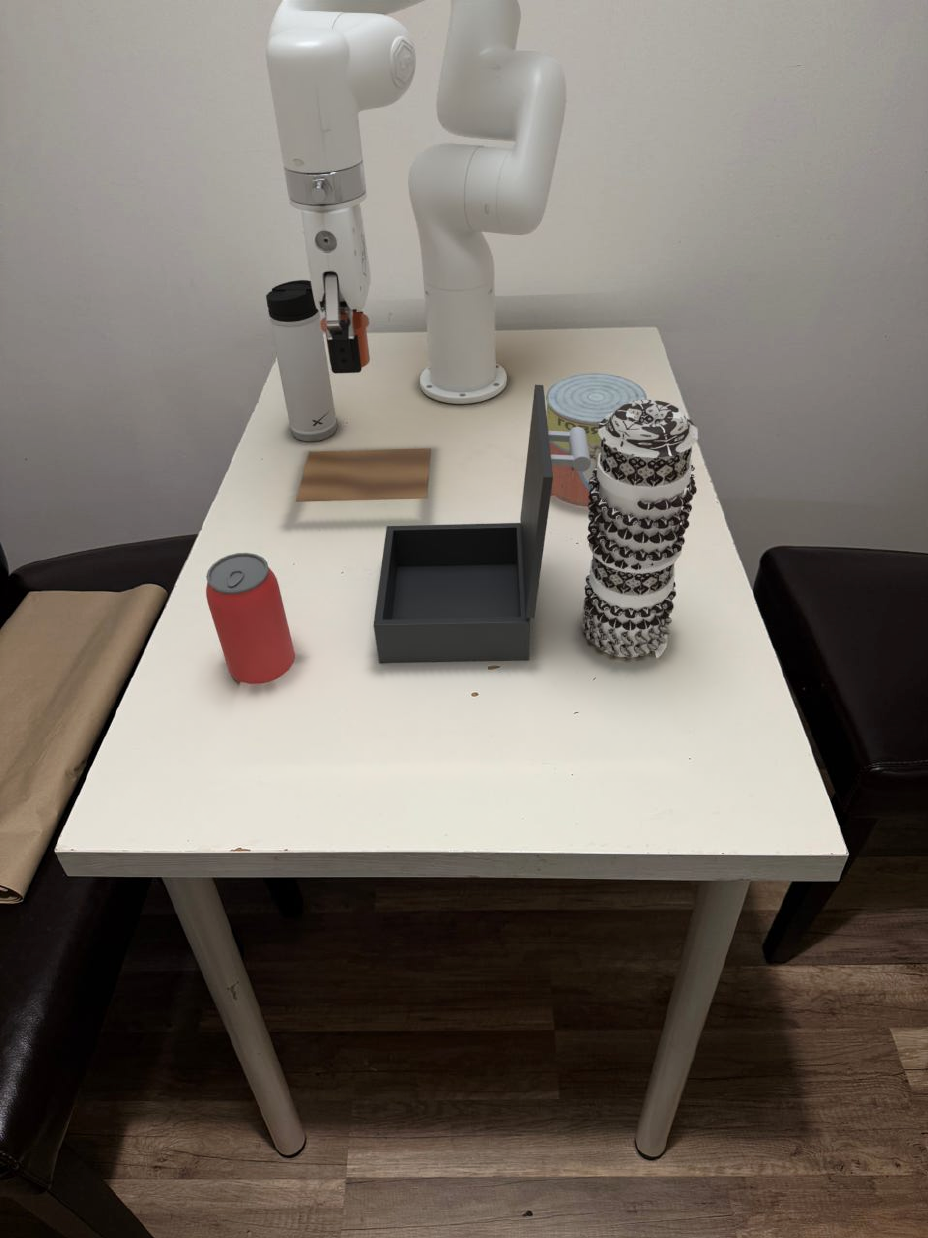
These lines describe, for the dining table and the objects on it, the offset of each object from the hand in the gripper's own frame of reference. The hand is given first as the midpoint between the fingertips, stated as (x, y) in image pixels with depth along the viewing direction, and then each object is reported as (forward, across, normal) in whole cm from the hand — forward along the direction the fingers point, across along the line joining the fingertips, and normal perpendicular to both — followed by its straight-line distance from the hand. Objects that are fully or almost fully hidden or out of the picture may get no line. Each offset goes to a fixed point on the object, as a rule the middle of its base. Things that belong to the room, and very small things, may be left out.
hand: (349, 357), depth 98 cm
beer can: (+18, -30, +8) cm, 36 cm away
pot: (0, 0, 0) cm, 0 cm away
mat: (+18, +1, +1) cm, 18 cm away
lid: (+4, -23, -19) cm, 30 cm away
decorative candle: (+18, -27, -28) cm, 43 cm away
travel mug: (+18, +15, +9) cm, 25 cm away
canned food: (+18, 0, -27) cm, 33 cm away
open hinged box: (+18, -23, -11) cm, 31 cm away
